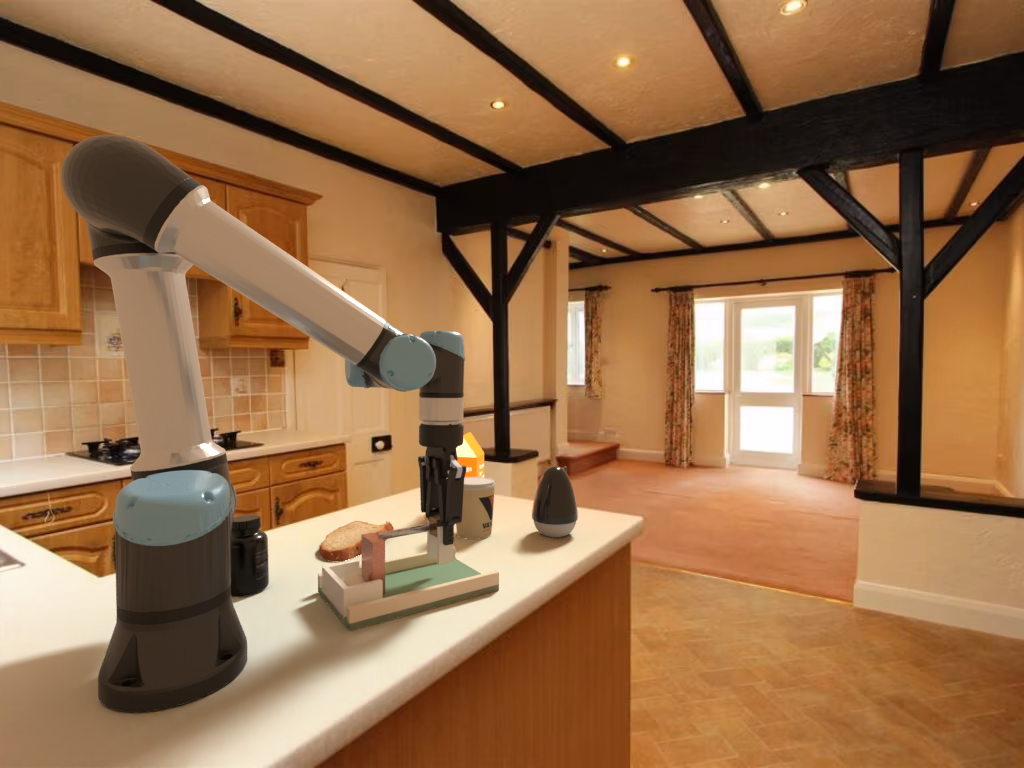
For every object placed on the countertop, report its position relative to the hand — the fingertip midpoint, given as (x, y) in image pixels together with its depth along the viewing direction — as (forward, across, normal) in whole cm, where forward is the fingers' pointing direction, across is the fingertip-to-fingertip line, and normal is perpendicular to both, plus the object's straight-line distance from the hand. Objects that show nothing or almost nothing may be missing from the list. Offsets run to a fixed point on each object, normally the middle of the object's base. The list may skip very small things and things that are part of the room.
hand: (440, 559), depth 93 cm
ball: (+1, 0, +15) cm, 15 cm away
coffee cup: (+4, +21, -19) cm, 29 cm away
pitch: (+4, 0, +6) cm, 7 cm away
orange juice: (+4, +40, -28) cm, 49 cm away
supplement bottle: (+5, +16, +28) cm, 32 cm away
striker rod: (+3, 0, +6) cm, 6 cm away
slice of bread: (+5, +29, +4) cm, 30 cm away
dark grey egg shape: (+4, +11, -34) cm, 36 cm away
